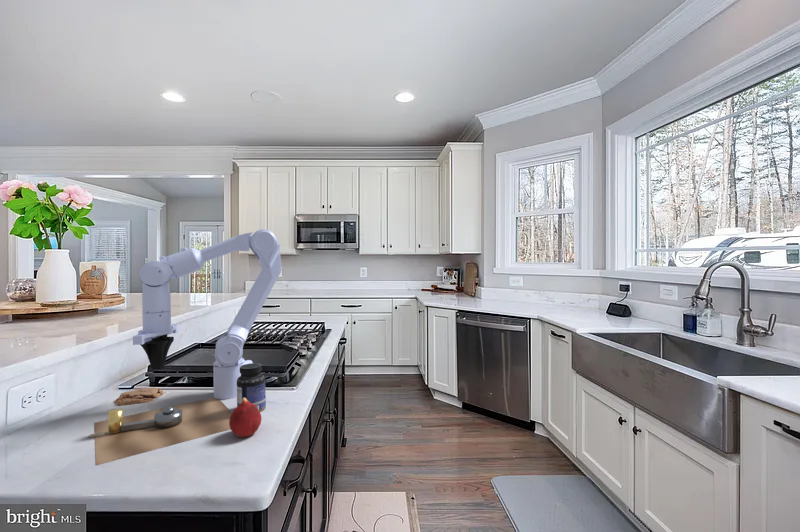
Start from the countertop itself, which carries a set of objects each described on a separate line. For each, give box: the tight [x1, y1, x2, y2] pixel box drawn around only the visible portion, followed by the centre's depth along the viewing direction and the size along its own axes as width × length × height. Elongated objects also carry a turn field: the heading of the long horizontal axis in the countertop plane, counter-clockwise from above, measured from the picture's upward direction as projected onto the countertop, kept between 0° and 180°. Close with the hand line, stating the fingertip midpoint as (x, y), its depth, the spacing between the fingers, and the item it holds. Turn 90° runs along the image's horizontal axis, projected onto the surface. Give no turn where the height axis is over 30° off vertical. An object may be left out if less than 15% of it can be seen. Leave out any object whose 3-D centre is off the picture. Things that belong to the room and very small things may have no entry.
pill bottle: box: [236, 362, 267, 413], centre depth 88 cm, size 6×6×11 cm
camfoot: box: [107, 406, 182, 434], centre depth 79 cm, size 13×5×4 cm, turn 114°
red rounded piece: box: [229, 398, 262, 438], centre depth 75 cm, size 6×6×8 cm
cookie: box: [114, 387, 164, 407], centre depth 96 cm, size 10×11×3 cm
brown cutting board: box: [88, 396, 233, 466], centre depth 80 cm, size 25×22×1 cm
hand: (157, 368), depth 92 cm, fingers closed
